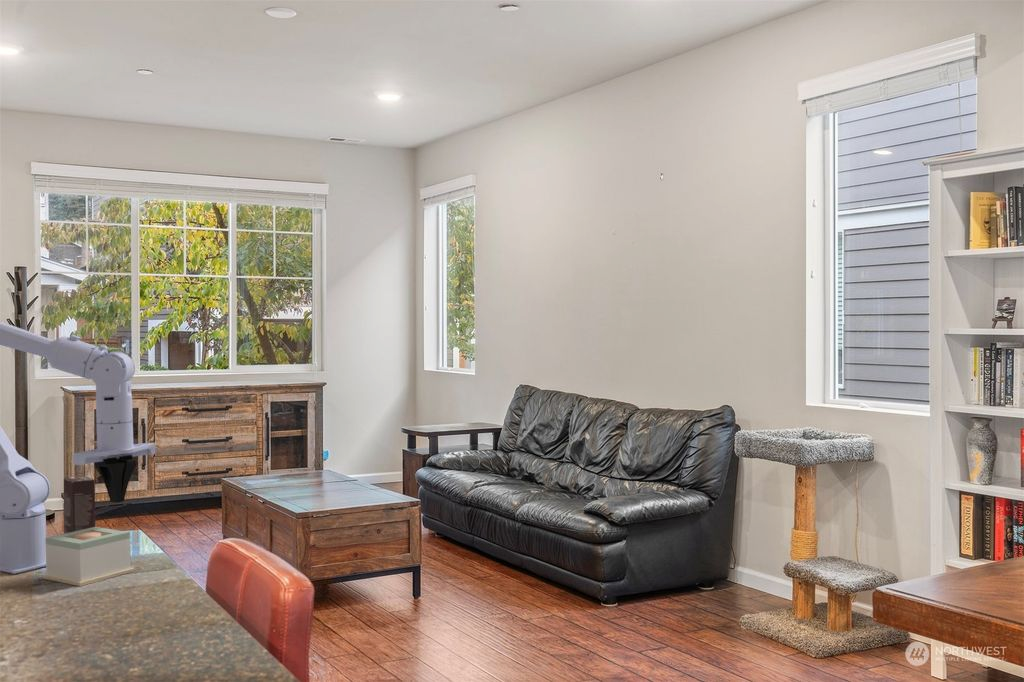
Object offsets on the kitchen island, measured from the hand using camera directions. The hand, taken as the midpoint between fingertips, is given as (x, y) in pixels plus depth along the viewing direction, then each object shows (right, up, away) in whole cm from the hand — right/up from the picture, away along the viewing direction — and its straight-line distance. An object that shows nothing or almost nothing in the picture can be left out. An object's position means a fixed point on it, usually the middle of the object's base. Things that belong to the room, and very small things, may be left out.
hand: (117, 501), depth 161 cm
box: (-14, -11, +16) cm, 24 cm away
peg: (-1, -10, -8) cm, 13 cm away
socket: (-1, -11, -8) cm, 13 cm away
